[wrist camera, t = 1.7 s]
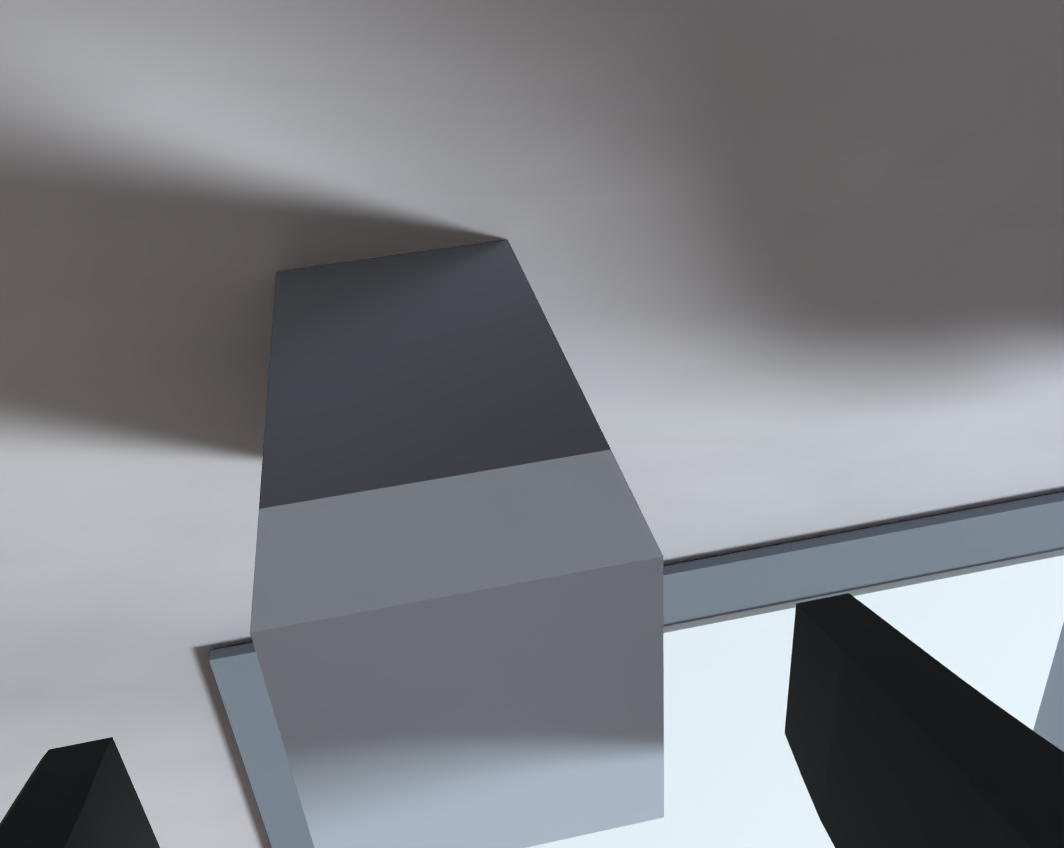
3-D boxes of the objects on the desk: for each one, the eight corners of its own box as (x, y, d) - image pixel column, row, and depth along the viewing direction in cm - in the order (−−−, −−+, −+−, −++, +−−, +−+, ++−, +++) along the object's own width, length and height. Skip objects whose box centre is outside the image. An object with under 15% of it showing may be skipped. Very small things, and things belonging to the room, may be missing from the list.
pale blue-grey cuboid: (508, 240, 17) (663, 556, 10) (525, 432, 19) (664, 816, 12) (276, 271, 17) (249, 632, 9) (320, 466, 19) (327, 891, 11)
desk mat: (1160, 473, 23) (1176, 485, 23) (1030, 884, 32) (1040, 898, 31) (210, 650, 21) (208, 667, 20) (342, 1048, 29) (343, 1066, 29)
